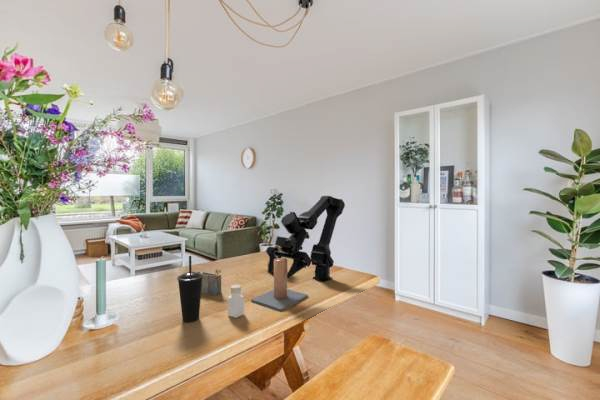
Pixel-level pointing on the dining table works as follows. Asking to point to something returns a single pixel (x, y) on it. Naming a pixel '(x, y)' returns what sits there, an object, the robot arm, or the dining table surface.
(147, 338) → the dining table surface
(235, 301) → the pepper shaker
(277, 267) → the wooden peg
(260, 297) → the rubber mat
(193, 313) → the drinking cup
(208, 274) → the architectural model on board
